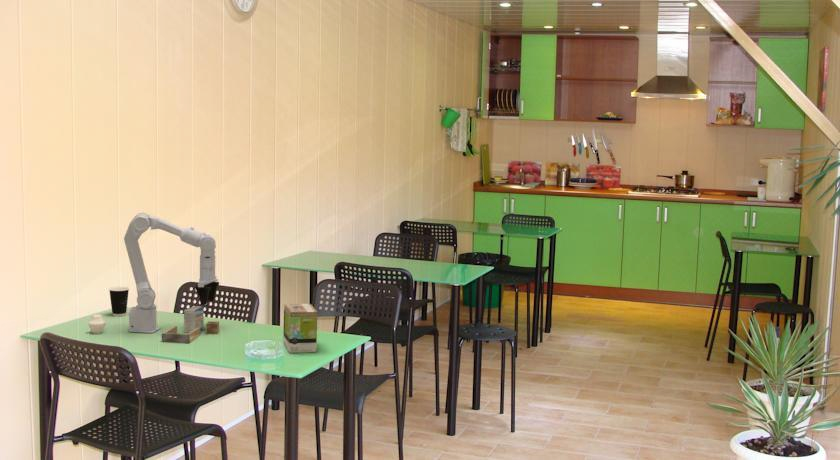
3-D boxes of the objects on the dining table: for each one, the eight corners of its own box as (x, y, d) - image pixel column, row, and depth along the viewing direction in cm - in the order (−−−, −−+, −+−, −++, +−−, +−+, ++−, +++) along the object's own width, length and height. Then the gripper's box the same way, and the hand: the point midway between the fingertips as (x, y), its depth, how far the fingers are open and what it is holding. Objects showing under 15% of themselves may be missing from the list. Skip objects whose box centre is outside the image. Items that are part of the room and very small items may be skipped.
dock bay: (161, 341, 325) (161, 333, 325) (174, 334, 337) (174, 326, 337) (188, 343, 324) (188, 334, 324) (200, 335, 336) (200, 327, 336)
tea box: (317, 352, 317) (318, 310, 315) (288, 353, 314) (289, 311, 312) (310, 342, 331) (310, 302, 329) (282, 343, 328) (283, 303, 326)
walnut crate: (206, 334, 339) (206, 323, 338) (208, 331, 343) (208, 321, 342) (217, 334, 339) (217, 323, 339) (218, 331, 343) (218, 321, 343)
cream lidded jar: (84, 333, 335) (84, 314, 334) (97, 329, 340) (97, 311, 339) (96, 335, 332) (96, 316, 331) (109, 332, 337) (109, 313, 337)
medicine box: (194, 333, 339) (194, 310, 338) (183, 332, 340) (183, 309, 339) (203, 328, 347) (203, 306, 346) (193, 328, 348) (193, 305, 347)
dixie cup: (128, 317, 363) (128, 290, 362) (107, 317, 362) (107, 290, 360) (130, 313, 371) (130, 286, 370) (110, 313, 369) (109, 286, 368)
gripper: (211, 271, 336) (210, 307, 338) (224, 265, 351) (223, 299, 352) (192, 270, 337) (192, 305, 339) (206, 264, 351) (206, 298, 353)
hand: (207, 302), depth 345 cm, fingers open, 7 cm apart
